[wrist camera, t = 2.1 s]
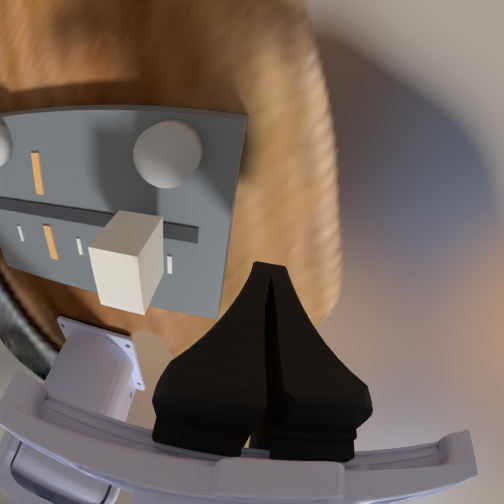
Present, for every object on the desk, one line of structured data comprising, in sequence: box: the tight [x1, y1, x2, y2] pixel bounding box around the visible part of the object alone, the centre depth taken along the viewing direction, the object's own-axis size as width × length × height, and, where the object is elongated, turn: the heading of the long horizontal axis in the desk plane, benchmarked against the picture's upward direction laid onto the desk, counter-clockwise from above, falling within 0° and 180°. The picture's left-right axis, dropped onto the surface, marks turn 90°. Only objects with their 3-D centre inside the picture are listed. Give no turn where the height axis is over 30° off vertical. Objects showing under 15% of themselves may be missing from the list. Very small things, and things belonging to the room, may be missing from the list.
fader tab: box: [88, 210, 164, 315], centre depth 13 cm, size 3×2×4 cm
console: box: [0, 105, 248, 319], centre depth 15 cm, size 12×18×3 cm, turn 81°
